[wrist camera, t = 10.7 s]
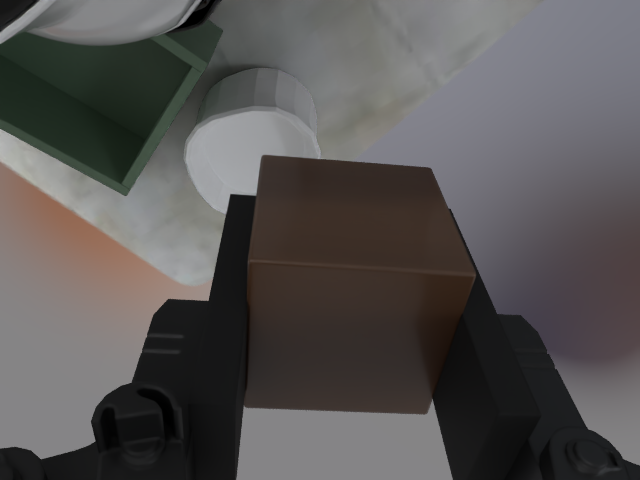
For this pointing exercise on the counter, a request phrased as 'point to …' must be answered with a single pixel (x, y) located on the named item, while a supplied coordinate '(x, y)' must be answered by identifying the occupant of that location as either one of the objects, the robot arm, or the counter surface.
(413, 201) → the block
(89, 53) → the chest
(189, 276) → the counter surface
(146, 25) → the kettle
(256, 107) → the cup
